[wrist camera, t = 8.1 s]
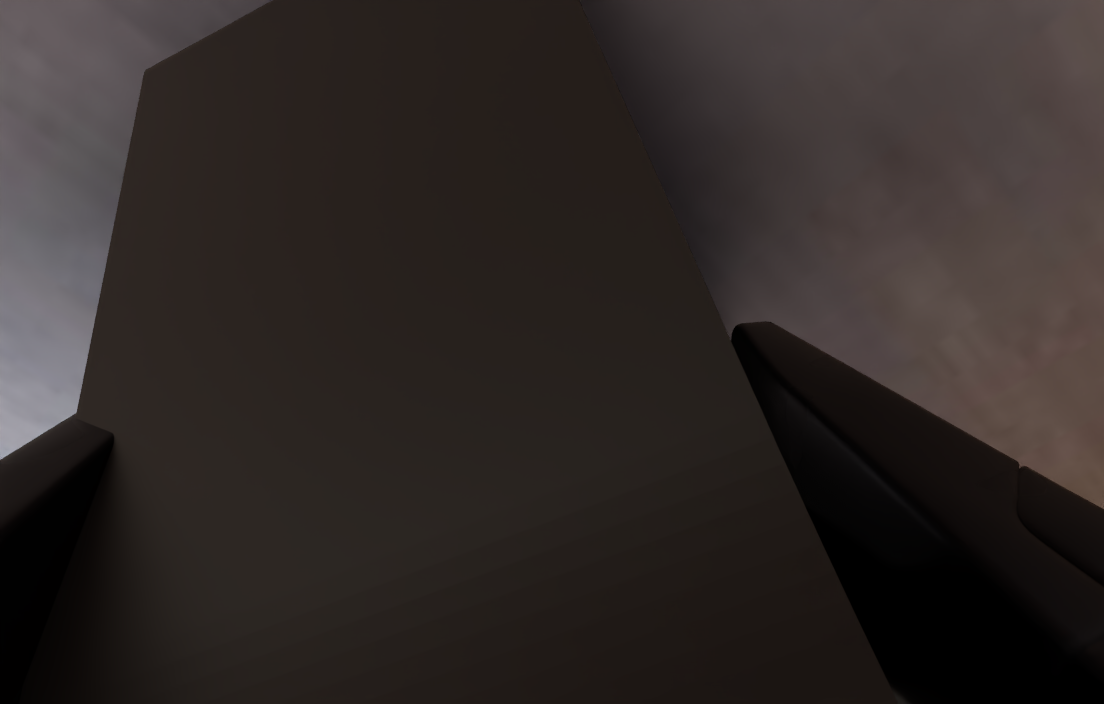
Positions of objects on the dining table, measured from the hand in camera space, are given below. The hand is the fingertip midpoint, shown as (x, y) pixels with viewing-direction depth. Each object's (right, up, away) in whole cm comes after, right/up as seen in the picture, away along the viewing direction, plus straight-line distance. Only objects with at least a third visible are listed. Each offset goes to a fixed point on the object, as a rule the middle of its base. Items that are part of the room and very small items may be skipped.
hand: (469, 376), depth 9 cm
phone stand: (0, +2, +4) cm, 5 cm away
